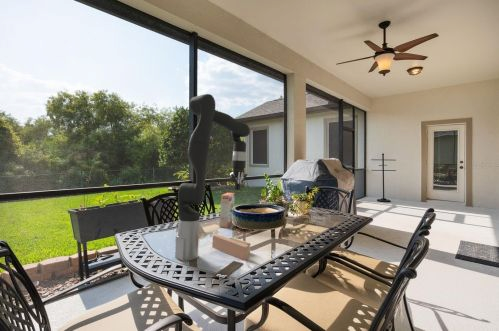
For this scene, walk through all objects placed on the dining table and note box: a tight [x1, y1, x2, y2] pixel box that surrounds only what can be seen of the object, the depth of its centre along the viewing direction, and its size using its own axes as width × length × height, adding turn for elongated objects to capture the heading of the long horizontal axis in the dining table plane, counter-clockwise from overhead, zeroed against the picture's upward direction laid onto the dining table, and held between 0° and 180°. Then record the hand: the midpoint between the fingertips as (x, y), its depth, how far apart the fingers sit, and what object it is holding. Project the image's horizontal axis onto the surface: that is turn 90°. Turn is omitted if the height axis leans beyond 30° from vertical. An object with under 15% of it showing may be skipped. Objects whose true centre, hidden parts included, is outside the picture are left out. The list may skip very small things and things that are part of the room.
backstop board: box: [211, 234, 250, 261], centre depth 133 cm, size 3×22×6 cm, turn 48°
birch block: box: [228, 237, 251, 254], centre depth 136 cm, size 6×12×5 cm, turn 47°
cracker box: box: [218, 192, 236, 229], centre depth 183 cm, size 14×6×21 cm, turn 168°
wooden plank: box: [213, 260, 244, 276], centre depth 113 cm, size 17×1×5 cm
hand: (237, 190), depth 157 cm, fingers closed
